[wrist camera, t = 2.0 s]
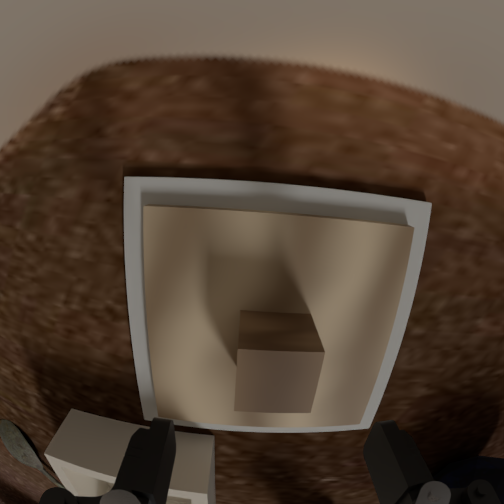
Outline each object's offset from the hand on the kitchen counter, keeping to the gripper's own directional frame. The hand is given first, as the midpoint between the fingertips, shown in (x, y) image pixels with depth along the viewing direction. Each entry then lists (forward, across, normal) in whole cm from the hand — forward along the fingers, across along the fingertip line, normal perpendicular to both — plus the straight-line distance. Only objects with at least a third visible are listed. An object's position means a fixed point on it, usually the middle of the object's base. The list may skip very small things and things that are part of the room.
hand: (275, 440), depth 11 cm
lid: (+8, 0, 0) cm, 9 cm away
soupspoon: (+10, +23, +27) cm, 37 cm away
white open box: (+9, +10, +17) cm, 22 cm away
